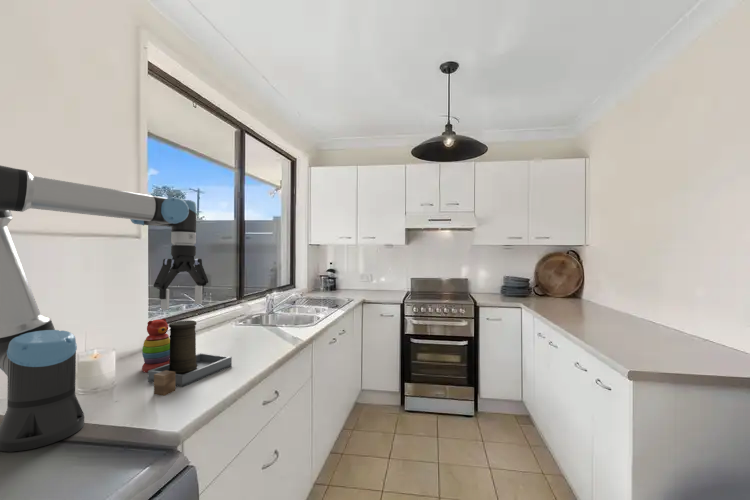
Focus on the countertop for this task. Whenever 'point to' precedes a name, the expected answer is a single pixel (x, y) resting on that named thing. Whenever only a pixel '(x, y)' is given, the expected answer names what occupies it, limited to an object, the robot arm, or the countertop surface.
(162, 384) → the walnut block
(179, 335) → the container
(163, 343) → the stacking bear
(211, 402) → the countertop surface
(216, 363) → the tray
